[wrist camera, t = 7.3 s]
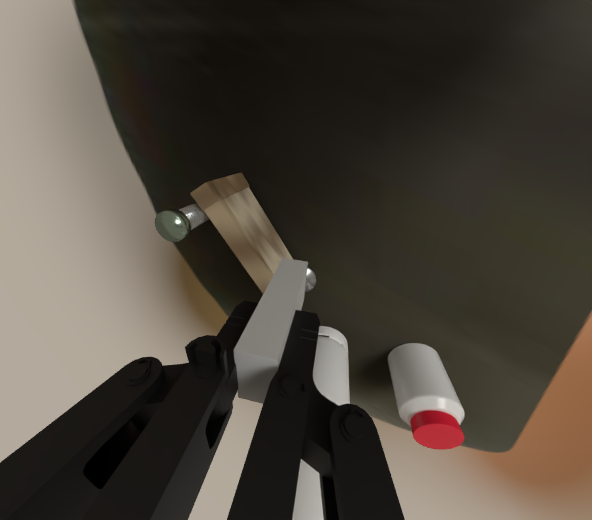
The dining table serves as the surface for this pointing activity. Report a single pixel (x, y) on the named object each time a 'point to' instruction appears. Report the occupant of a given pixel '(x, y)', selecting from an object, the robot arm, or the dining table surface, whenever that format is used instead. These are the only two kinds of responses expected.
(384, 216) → the dining table surface
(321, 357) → the bottle
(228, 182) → the gate
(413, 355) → the pill bottle
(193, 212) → the latch post
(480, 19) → the dining table surface
